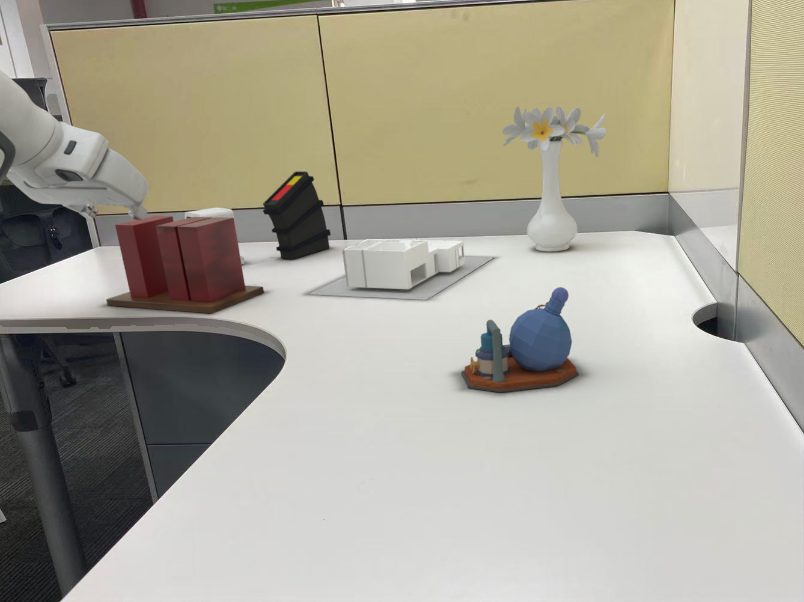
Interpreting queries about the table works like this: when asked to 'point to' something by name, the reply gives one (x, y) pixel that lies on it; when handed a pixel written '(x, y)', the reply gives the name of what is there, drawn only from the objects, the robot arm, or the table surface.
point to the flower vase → (552, 169)
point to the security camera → (213, 213)
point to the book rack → (197, 268)
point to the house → (401, 268)
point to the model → (525, 351)
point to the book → (143, 256)
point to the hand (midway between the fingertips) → (117, 215)
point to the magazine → (297, 217)
